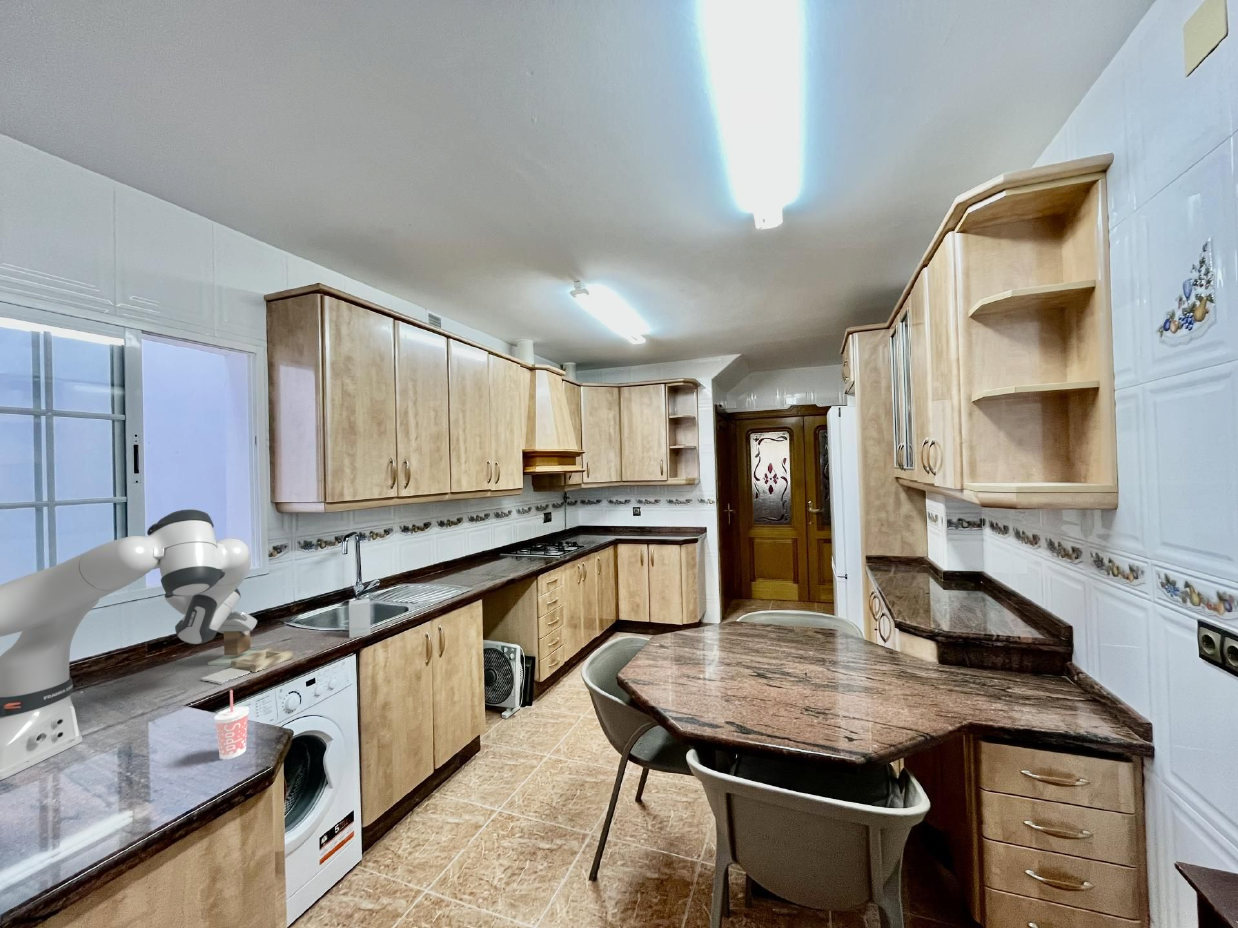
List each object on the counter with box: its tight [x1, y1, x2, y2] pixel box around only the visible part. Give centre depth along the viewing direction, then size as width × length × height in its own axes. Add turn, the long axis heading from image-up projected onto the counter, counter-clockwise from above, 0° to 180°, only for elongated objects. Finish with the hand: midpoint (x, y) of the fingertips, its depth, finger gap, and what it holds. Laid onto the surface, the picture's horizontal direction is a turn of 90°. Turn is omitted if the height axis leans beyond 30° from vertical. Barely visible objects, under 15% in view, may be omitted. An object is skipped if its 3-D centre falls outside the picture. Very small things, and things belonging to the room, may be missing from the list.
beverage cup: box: [213, 689, 250, 760], centre depth 108 cm, size 6×6×14 cm
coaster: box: [207, 650, 260, 666], centre depth 167 cm, size 11×11×1 cm
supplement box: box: [348, 598, 371, 639], centre depth 189 cm, size 7×7×13 cm
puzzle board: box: [200, 647, 294, 683], centre depth 157 cm, size 21×12×2 cm, turn 159°
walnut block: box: [223, 631, 251, 656], centre depth 167 cm, size 5×5×11 cm
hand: (238, 633), depth 168 cm, fingers closed on walnut block, 5 cm apart
